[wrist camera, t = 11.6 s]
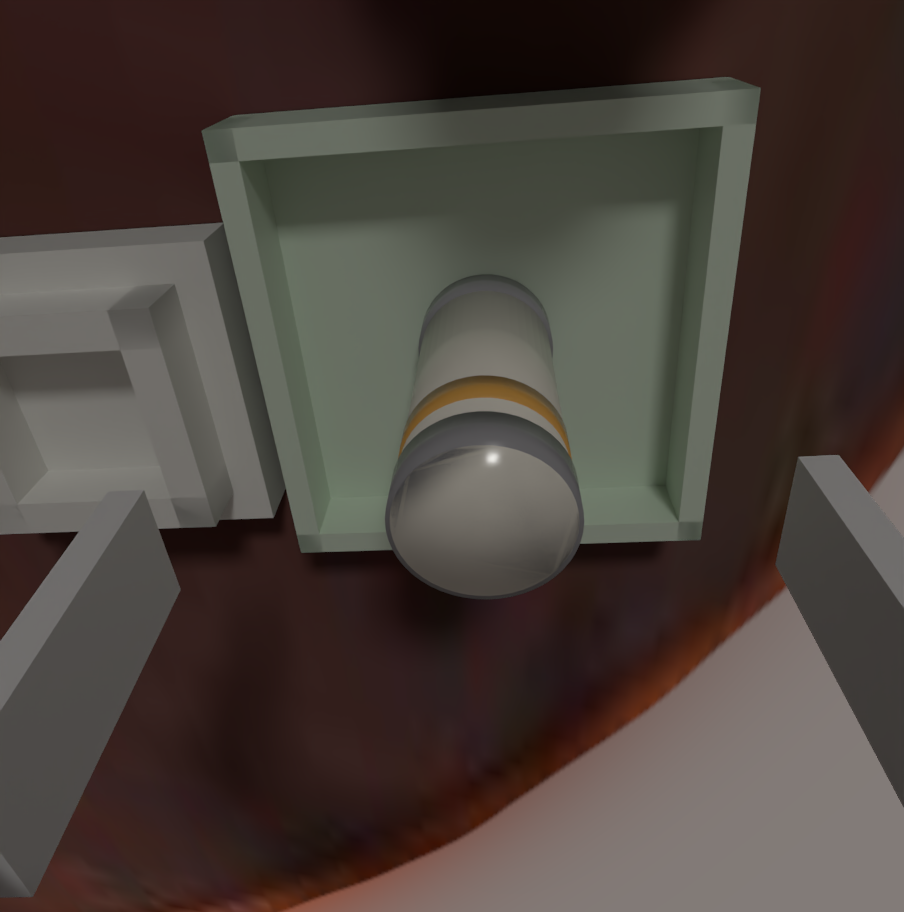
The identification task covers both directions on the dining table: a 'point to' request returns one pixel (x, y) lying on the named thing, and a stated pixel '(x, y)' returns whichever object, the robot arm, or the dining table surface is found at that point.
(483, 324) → the fuse
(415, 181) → the tray
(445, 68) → the dining table surface
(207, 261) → the holder
